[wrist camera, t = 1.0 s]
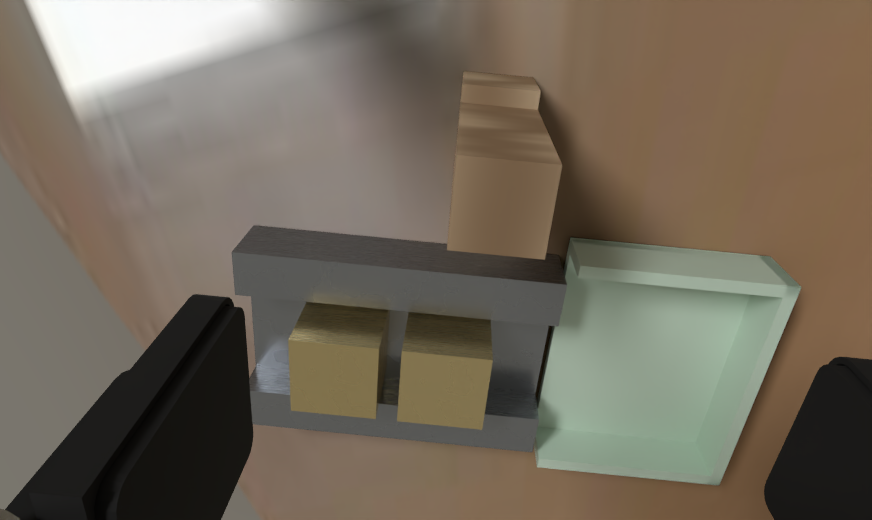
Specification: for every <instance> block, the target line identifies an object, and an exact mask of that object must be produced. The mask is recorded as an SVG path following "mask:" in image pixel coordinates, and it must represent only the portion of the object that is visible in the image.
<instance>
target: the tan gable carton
mask: <svg viewBox="0 0 872 520" xmlns="http://www.w3.org/2000/svg"><path fill="white" fill-rule="evenodd" d="M540 93H541V91H540V89H539V87H538V85H537V83H536V81H535V79H534V78H533V77H522V76H511V75H501V74H490V73H479V72H469V71H463V81H462V91H461V101H460V111H459V121H458V131H457V141H456V151H455V162H454V172H453V183H452V197H451V208H450V220H449V231H448V242H447V250H451V251H461V252H471V253H481V254H492V255H502V256H512V257H522V258H533V259H543V260H545V256H546V251H547V246H548V240H549V235H550V229H551V224H552V219H553V213H554V208H555V202H556V197H557V192H558V186H559V181H560V175H561V170H562V163H561V161H560V159H559V156H558V154H557V152H556V150H555V147H554V145H553V143H552V141H551V138H550V136H549V134H548V131H547V129H546V127H545V125H544V122H543V120H542V118H541V116H540V113H539V111H538V105H539V99H540Z"/></svg>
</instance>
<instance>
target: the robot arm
mask: <svg viewBox="0 0 872 520" xmlns="http://www.w3.org/2000/svg"><path fill="white" fill-rule="evenodd" d="M252 442H253V424H252V410H251V397H250V383H249V370H248V356H247V343H246V329H245V316H244V311H243V309H242V308H240V307H234V304H233V302H232V299H230V298H229V297H219V296H208V295H198V294H195V295H192V296H191V297H190V298H189V299H188V300H187V301H186V303H185V304H184V305H183V306H182V307H181V309H180V310H179V311H178V312H177V314H176V315H175V316H174V317H173V318H172V320H171V321H170V322H169V323H168V324H167V326H166V327H165V328H164V329H163V330H162V332H161V333H160V334H159V335H158V337H157V338H156V339H155V340H154V341H153V343H152V344H151V345H150V346H149V347H148V349H147V350H146V351H145V352H144V353H143V355H142V356H141V357H140V358H139V360H138V361H137V362H136V363H135V364H134V366H133V367H132V368H131V369H130V370H128V371H125V372H123V373H121V374H120V375H119V376H118V377H117V378H116V379H115V380H114V381H113V382H112V383H111V385H110V386H109V387H108V388H107V389H106V391H105V392H104V393H103V394H102V395H101V396H100V398H99V399H98V400H97V401H96V402H95V404H94V405H93V406H92V407H91V408H90V410H89V411H88V412H87V413H86V414H85V415H84V417H83V418H82V419H81V421H79V423H78V424H77V425H76V426H75V427H74V429H73V430H72V431H71V432H70V433H69V434H68V436H67V437H66V438H65V439H64V440H63V442H62V443H61V444H60V445H59V446H58V448H57V449H56V450H55V451H54V452H53V453H52V455H51V456H50V457H49V458H48V459H47V460H46V462H45V463H44V464H43V465H42V467H41V468H40V469H39V470H38V471H37V472H36V474H35V475H34V476H33V477H32V478H31V480H30V481H29V482H28V483H27V484H26V485H25V487H24V488H23V489H22V490H21V491H20V493H19V494H18V495H17V496H16V497H15V498H14V500H13V501H12V502H11V503H10V504H9V505H8V507H7V508H6V509H5V510H4V509H0V520H221V518H222V516H223V514H224V511H225V509H226V507H227V505H228V502H229V500H230V498H231V495H232V493H233V491H234V489H235V486H236V484H237V482H238V480H239V477H240V475H241V473H242V471H243V468H244V466H245V464H246V462H247V459H248V457H249V454H250V451H251V447H252ZM764 495H765V501H766V504H767V507H768V509H769V511H770V513H771V514H772V516H773V518H774V520H872V360H869V359H859V358H849V357H837V358H834V359H833V360H832V361H830V363H829V364H827V365H823V366H822V367H821V368H820V369H819V370H818V372H817V374H816V376H815V378H814V380H813V382H812V384H811V387H810V389H809V391H808V393H807V395H806V397H805V400H804V402H803V404H802V406H801V408H800V410H799V412H798V415H797V417H796V419H795V421H794V423H793V425H792V427H791V430H790V432H789V434H788V436H787V438H786V440H785V442H784V445H783V447H782V449H781V451H780V453H779V455H778V458H777V460H776V462H775V464H774V466H773V468H772V470H771V473H770V475H769V477H768V479H767V481H766V484H765V489H764Z"/></svg>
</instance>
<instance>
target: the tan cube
mask: <svg viewBox="0 0 872 520" xmlns="http://www.w3.org/2000/svg"><path fill="white" fill-rule="evenodd" d="M389 314H390V310H386V309H376V308H366V307H355V306H345V305H335V304H325V303H315V302H306V304H305V306H304V308H303V310H302V313H301V315H300V317H299V319H298V321H297V323H296V325H295V327H294V329H293V331H292V333H291V335H290V337H289V339H288V348H289V374H290V401H291V411H300V412H310V413H320V414H330V415H340V416H350V417H360V418H370V419H376V415H377V411H378V406H379V401H380V396H381V391H382V387H383V382H384V377H385V372H386V368H387V351H388V332H389Z"/></svg>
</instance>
